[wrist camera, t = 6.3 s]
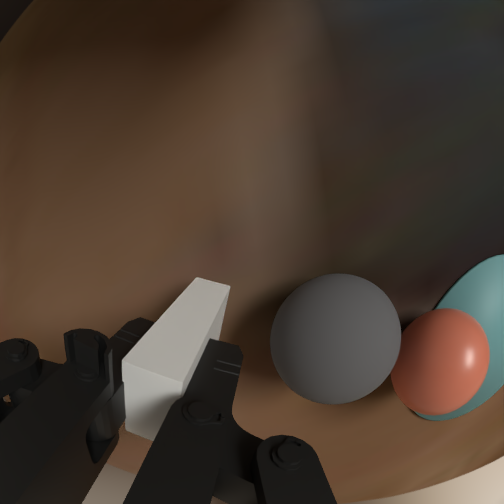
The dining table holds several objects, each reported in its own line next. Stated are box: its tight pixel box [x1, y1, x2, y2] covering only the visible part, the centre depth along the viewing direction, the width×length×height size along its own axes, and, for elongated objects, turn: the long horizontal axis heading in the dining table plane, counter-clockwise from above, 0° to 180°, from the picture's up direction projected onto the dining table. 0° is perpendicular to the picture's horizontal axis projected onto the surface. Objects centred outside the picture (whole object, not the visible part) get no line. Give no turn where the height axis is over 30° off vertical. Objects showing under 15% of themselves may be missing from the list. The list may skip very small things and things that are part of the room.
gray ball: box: [270, 274, 401, 404], centre depth 11 cm, size 6×6×6 cm
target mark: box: [414, 254, 504, 421], centre depth 13 cm, size 13×13×1 cm
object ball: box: [390, 308, 490, 415], centre depth 11 cm, size 6×6×6 cm
